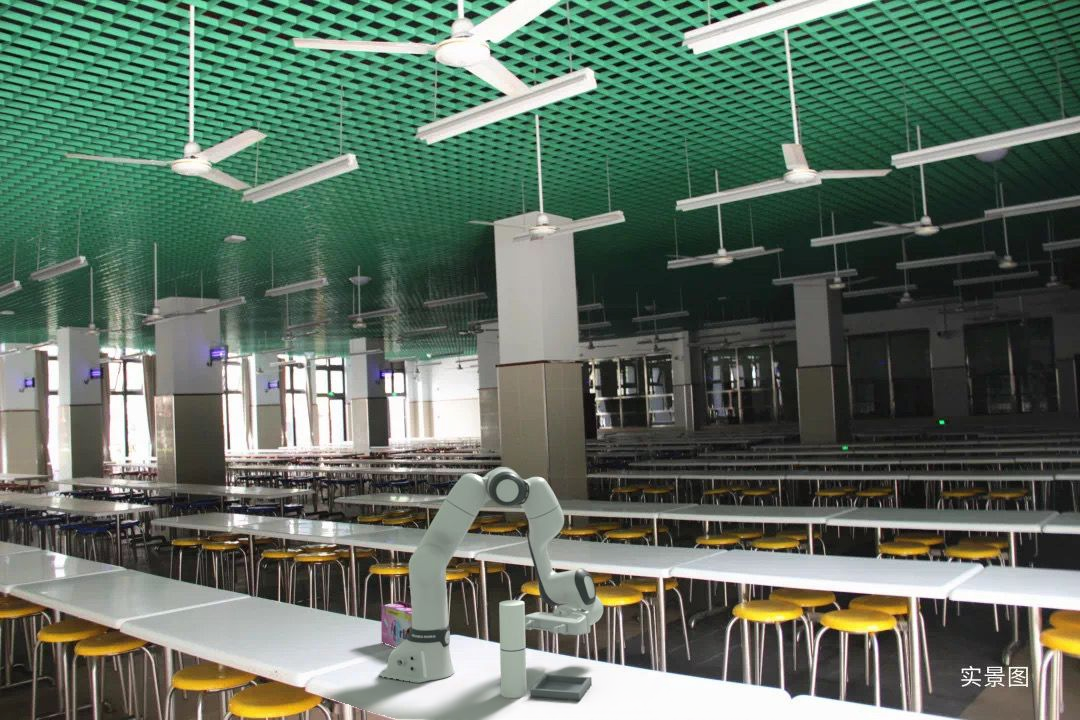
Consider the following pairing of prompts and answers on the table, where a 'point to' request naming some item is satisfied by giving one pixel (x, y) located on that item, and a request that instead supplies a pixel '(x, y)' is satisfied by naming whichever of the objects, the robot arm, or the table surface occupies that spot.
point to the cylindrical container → (512, 648)
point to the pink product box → (395, 622)
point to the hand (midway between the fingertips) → (539, 629)
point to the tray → (561, 687)
